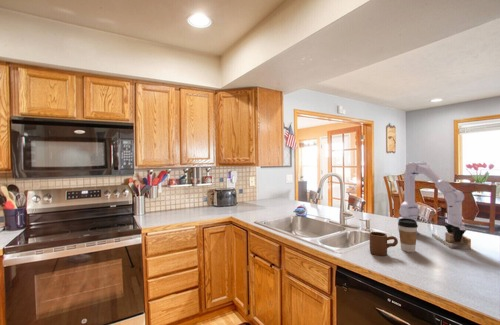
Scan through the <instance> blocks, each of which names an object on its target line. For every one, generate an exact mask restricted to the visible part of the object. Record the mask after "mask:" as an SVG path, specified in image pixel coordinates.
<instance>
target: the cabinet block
mask: <svg viewBox="0 0 500 325" xmlns="http://www.w3.org/2000/svg"><path fill="white" fill-rule="evenodd" d="M444 235H445V237H444V238H445V241H446V242H448V243H449V244H450V243H457V244H463V236H464V235H463V236H462V238H461V241H460V242H455V240H454V235H453V232H452V233H448V231H447V232H446V231H445V234H444Z"/></svg>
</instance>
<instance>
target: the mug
mask: <svg viewBox="0 0 500 325" xmlns="http://www.w3.org/2000/svg"><path fill="white" fill-rule="evenodd" d="M391 240H393V242H389V243H388V241H391ZM398 244H399V241H398V238H397V237H396V236H393V235H389V236H388V235H387V233H384V232H380V231H371V232H370V233H369V252H370V254H372V255H374V256H377V257H378V256H379V257H383V256H387V255H388V249H389V248H392V247H393V248H394V247H395V246H397V245H398Z"/></svg>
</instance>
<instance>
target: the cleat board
mask: <svg viewBox="0 0 500 325" xmlns="http://www.w3.org/2000/svg"><path fill="white" fill-rule="evenodd" d="M431 237H432V238H434V239H435V240H436V241H439V242H440V243H442V244H443V245H444V246H446V247H447V248H450V249H461V250H462V249H463V250H471V249H472V246H471V244H472V240H471V238H469V237H467V236H465V235H463V244H457V243H450V244H449V243H448V242H446V241H445V240H444V239H443V238H442V237H440V236H438V235H436V234H435V233H431Z"/></svg>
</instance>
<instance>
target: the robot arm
mask: <svg viewBox="0 0 500 325" xmlns="http://www.w3.org/2000/svg"><path fill="white" fill-rule="evenodd" d="M420 174H421V175H424V176H425V177H427V179H429V180H430V181H431V182H433V183H434V187H435V188H436V189H437V190H438V191H439V192H440V193H441V194H442V195H443V197H444V200H445V201H446V205H447V218H445V219H444V223H445V224H444V225H443V226H444V228H445V229H446V231H447V232H448V233H452V232H453V235H454V240H455V242H460V241H461V238H462V236H464V234H465V233H466V231H467V230H466V226H465V225H466V224H465V222H463V201H465V194H464V193H463V191H462V190H457V189H456V188H455V187H453V186H452V184H450V182H449V181H448V180H446V179H441V178H440V177H439V176H438V175H437V174H436V173H435V172H434V171H433V170H432V168H431V166H430V165H429V164H427V162H425V161H410V162H408V163H406V165H405V172H404V174H403V178H404V179H403V182H404V183H403V186H404V189H403V191H404V193H403V196H404V199H403V200H404V201H403V202H402V203H401V204H400V207H399V209H398V210H399V212H398V213H399V214H400V216H398V218H397V223H398V222H399V219H401V218H407V219H413V220H415V221H416V222H417V218H418V216H419V215H420V209H419V204H418V203H416V182H415V181H416V177H417V176H418V175H420ZM397 230H398V231H399V225H398V224H397ZM417 234H420V232H419V231H418V230H417Z"/></svg>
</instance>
